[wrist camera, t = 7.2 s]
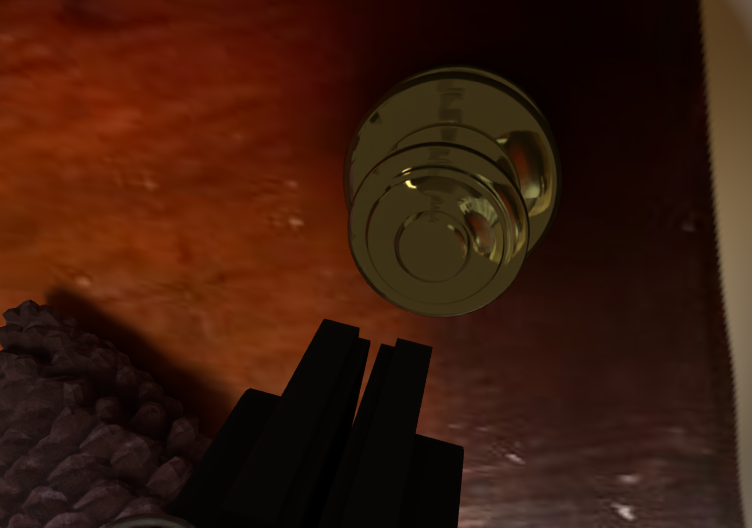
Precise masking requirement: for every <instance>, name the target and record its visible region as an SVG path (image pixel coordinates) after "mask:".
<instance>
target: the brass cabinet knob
mask: <svg viewBox="0 0 752 528" xmlns="http://www.w3.org/2000/svg"><path fill="white" fill-rule="evenodd" d="M342 179H343V194H344V200H345V205H346V209H347V212H348V215H349V217H348V241H349V247H350V251H351V254H352V257H353V260H354V262H355V265H356V267H357V268H358V270H359V272H360V274H361V275H362V277H363V278H364V280H365V281H366V282H367V283H368V285H369V286H370V287H371V288H372V289H373V290H374V291H375V292H376V293H377V294H378V295H380V296H381V297H382V298H383V299H385V300H386V301H388V302H389V303H391V304H392V305H394V306H396V307H398V308H400V309H402V310H405V311H407V312H410V313H413V314H417V315H421V316H427V317H438V318H443V317H455V316H460V315H465V314H468V313H471V312H474V311H477V310H479V309H481V308H483V307H485V306H487V305H488V304H490V303H492V302H493V301H494V300H496V299H497V298H498V297H500V296H501V295H502V294H503V293H504V292H505V291H506V290H507V289H508V288H509V287H510V285H511V284H512V283H513V281H514V280H515V279H516V277H517V275H518V274H519V272H520V270H521V268H522V265H523V263H524V262H525V261H526V260H527V259H528V258H529V257H530V256H531V255H532V254H533V253H534V252H535V251H536V250H537V249H538V247H539V246H540V245H541V244H542V242H543V241H544V239H545V238H546V236H547V235H548V233H549V231H550V229H551V227H552V225H553V223H554V221H555V219H556V216H557V213H558V210H559V206H560V202H561V196H562V187H563V172H562V164H561V158H560V154H559V150H558V147H557V144H556V141H555V138H554V135H553V132H552V129H551V127H550V125H549V122H548V120H547V119H546V117H545V115H544V113H543V112H542V110H541V109H540V107H539V105H538V104H537V102H536V101H535V99H534V98H533V97H532V96H531V94H530V93H529V92H528V91H527V90H526V89H525V88H524V87H523V86H522V85H521V84H519V83H518V82H517V81H516V80H514V79H513V78H511V77H510V76H508V75H506V74H505V73H503V72H501V71H499V70H496V69H494V68H491V67H488V66H485V65H481V64H476V63H469V62H450V63H443V64H438V65H434V66H431V67H428V68H425V69H423V70H420V71H418V72H416V73H414V74H412V75H411V76H409V77H407V78H405V79H404V80H402V81H400V82H399V83H398V84H396V85H395V86H393V87H392V88H391V89H390V90H389V91H387V92H386V93H385V94H384V95H383V96H382V97H381V98H380V99H379V100H378V101H376V103H375V104H374V105H373V106H372V107H371V108H370V109H369V110H368V111H367V112H366V114H365V115H364V116H363V117H362V119H361V120H360V122H359V123H358V125H357V127H356V129H355V130H354V132H353V134H352V137H351V139H350V141H349V144H348V147H347V150H346V154H345V159H344V165H343V177H342Z"/></svg>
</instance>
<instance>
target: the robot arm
mask: <svg viewBox="0 0 752 528" xmlns="http://www.w3.org/2000/svg"><path fill="white" fill-rule="evenodd" d="M369 348H370V340H366V339H363V338H359V328H358V327H354V326H351V325H347V324H343V323H339V322H335V321H332V320H328V319H324V320H323V321H322V323H321V325H320V327H319V329H318V330H317V332H316V334H315V336H314V338H313V339H312V341H311V343H310V345H309V347H308V348H307V350H306V352H305V354H304V356H303V358H302V359H301V361H300V363H299V365H298V367H297V368H296V370H295V372H294V374H293V376H292V378H291V379H290V381H289V383H288V385H287V387H286V388H285V390H284V392H283V394H282V396H277V395H273V394H270V393H266V392H263V391H259V390H255V389H252V388H250V389H247V390H246V391H245V393H244V394H243V395H242V396H241V398H240V400H239V401H238V403H237V404H236V406H235V407H234V409H233V410H232V412H231V413H230V415H229V417H228V418H227V420H226V421H225V423H224V424H223V426H222V427H221V429H220V430H219V432H218V433H217V435H216V437H215V438H214V440H213V441H212V443H211V444H210V446H209V447H208V449H207V450H206V452H205V454H204V455H203V457H202V458H201V460H200V461H199V463H198V464H197V466H196V467H195V469H194V471H193V472H192V474H191V475H190V477H189V478H188V480H187V481H186V483H185V484H184V486H183V487H182V489H181V491H180V492H179V494H178V495H177V497H176V498H175V500H174V501H173V503H172V504H171V506H170V508H169V509H168V511H167V512H166V514H159V513H141V514H135V515H130V516H125V517H121V518H118V519H116V520H114V521H112V522H109V523H107V524H105V525H103V526H100V527H99V528H457V527H458V516H459V504H460V493H461V481H462V470H463V459H464V449H463V447H462V446H458V445H455V444H451V443H447V442H444V441H440V440H437V439H433V438H429V437H426V436H422V435H418V434H415V433H416V428H417V423H418V418H419V413H420V408H421V403H422V398H423V393H424V388H425V383H426V378H427V373H428V368H429V363H430V358H431V353H432V348H433V347H430V346H426V345H423V344H419V343H415V342H411V341H407V340H404V339H400V338H397V341H396V345H395V347H393V346H389V345H385V344H381V346H380V349H379V352H378V354H377V357H376V360H375V363H374V366H373V369H372V372H371V375H370V377H369V380H368V383H367V386H366V389H365V392H364V395H363V397H362V400H361V403H360V406H359V409H358V412H357V415H356V418H355V420H354V416H355V411H356V407H357V402H358V398H359V393H360V389H361V384H362V380H363V375H364V371H365V366H366V362H367V357H368V352H369ZM353 420H354V423H353ZM352 425H353V426H352Z"/></svg>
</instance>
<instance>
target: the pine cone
mask: <svg viewBox="0 0 752 528" xmlns="http://www.w3.org/2000/svg"><path fill="white" fill-rule="evenodd" d="M2 315H3V316H4V318H5V319H6V321H7V323H6V326H3V327H0V343H1V345H2V347H3V348H4V349H3V350H1V351H0V528H99V527H100V526H103V525H105V524H107V523H109V522H112V521H114V520H116V519H118V518H121V517H125V516H130V515H135V514H141V513H159V514H166V512H167V511H168V509H169V508H170V506H171V504H172V503H173V501H174V500H175V498H176V497H177V495H178V494H179V492H180V491H181V489H182V487H183V486H184V484H185V483H186V481H187V480H188V478H189V477H190V475H191V474H192V472H193V471H194V469H195V467H196V466H197V464H198V463H199V461H200V460H201V458H202V457H203V455H204V454H205V452H206V450H207V449H208V447H209V446H210V444H211V443H212V441H213V440H212V439H211V438H209V437H208V436H206V435H205V434H202V433H199V432H198V427H199V423H200V420H199V419H198V418H197V417H196V416H195V415H194V414H191V413H183V408H182V405H181V402H180V401H179V400H176V399H173V398H170V397H167V396H165V394H164V391H163V388H162V386H160V385H158V384H156V383H155V381H154V379H153V378H152V377H151V375H150V374H149V373H148V372H144V371H139V370H137V368H136V366H133V365H131V362H130V359H129V356H127V355H125V354H123V353H122V352H120V351H118V350H117V349H116V347H115V346H114V345H113V344H112V343H111V342H110V341H108V340H102V339H98V337H97V336H96V335H95V334H90V333H89V332H87V331H85V330H83V329H81V328H80V325H79V323H78V322H77V321H76V320H75V319H74V317H64V316H63V315H61V314H60V313H58V312H56V311H55V310H54V309H53V307H52V306H49V305H42V306H39V305H38V304H37V303H36V302H34V301H32V300H28V301H25V302H23V303H22V304H20V305H19V306H18V307H17V308H12V309H8V310H7V311H6V312H4V313H3V314H2Z"/></svg>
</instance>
